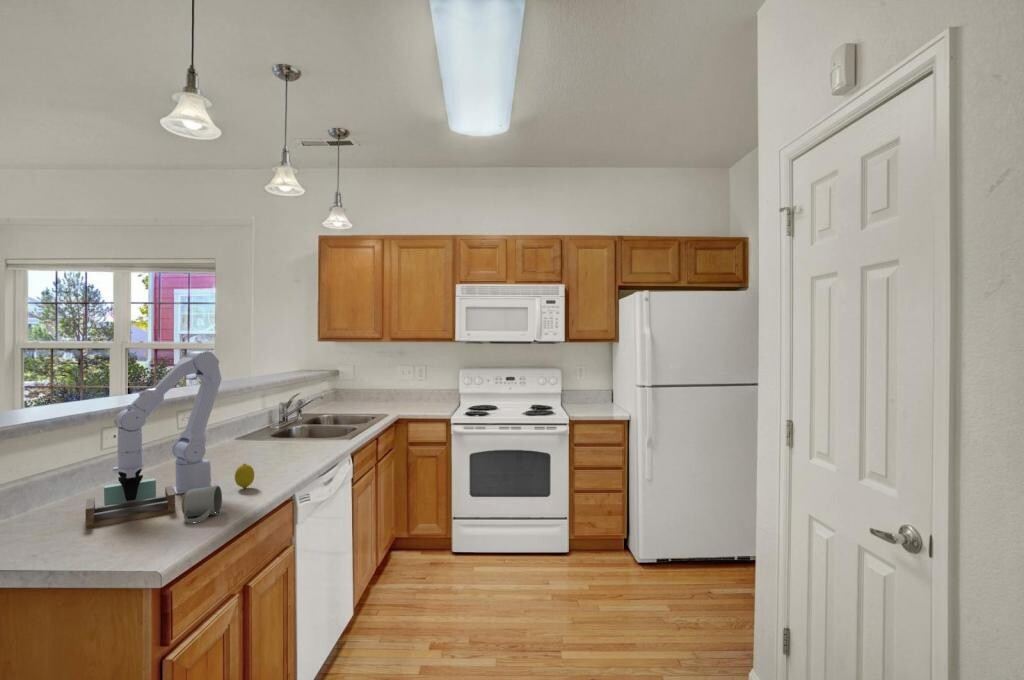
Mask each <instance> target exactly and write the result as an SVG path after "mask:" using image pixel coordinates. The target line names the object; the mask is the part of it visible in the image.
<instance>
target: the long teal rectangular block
mask: <svg viewBox="0 0 1024 680" xmlns="http://www.w3.org/2000/svg"><path fill="white" fill-rule="evenodd" d="M156 484H157V480H156V477H153V478H145V479H141V481H140V483H139V486H138V491H137V496H136V499H135V500H131V501H126V498H125V494H124V490H123V487H122V485H121V483H120V482H119V483H118V482H117V483H111V484H106V485H103V499H104V500H103V503H104V504H103V506H108V505H114V504H120V503H126V502H132V501H138V500H144V499H150V498H156V497H157V485H156Z"/></svg>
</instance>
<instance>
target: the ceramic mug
mask: <svg viewBox="0 0 1024 680" xmlns="http://www.w3.org/2000/svg"><path fill="white" fill-rule="evenodd" d="M222 504H223V493H222V489H221V486H219V485H211V487H204V488H197V489H192V490H188V491H187V492H186V493H183V496H182V499H181V512H182V514H183V519H184V522H185V523H187V522H189V523H193V522H199V521H201V522H203V521H205V520H206V519H207V518H208V517H209V515H210V516H217V515H219V514H218V512H219V513H220V512H221V509H222ZM215 512H216V513H215ZM194 516H196V517H194ZM193 517H194V518H193ZM189 523H188V524H189ZM199 523H200V522H199Z"/></svg>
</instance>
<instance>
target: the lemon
mask: <svg viewBox="0 0 1024 680" xmlns="http://www.w3.org/2000/svg"><path fill="white" fill-rule="evenodd" d="M254 480H255V471H254V468H253V467H252V466H251V465H249V464H247V463H243V464H242V465H240V466H238V467H237V468H236V471H235V474H234V481H235V483H236V485H237V486H238V487H240V488H242V489H244V488H245V489H247V488H248V487H249V486H250V485H252V484H253V482H254Z"/></svg>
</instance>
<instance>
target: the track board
mask: <svg viewBox="0 0 1024 680" xmlns="http://www.w3.org/2000/svg"><path fill="white" fill-rule="evenodd" d="M173 487H174V486H172V485H169V486H165V487H164V488H165V489H164V491H165V493H164V495H163V496H156V498H150V499H144V500H138V501H132V502H126V503H120V504H114V505H108V506H104V505H103V506H96V502H95V501H96V497H95V498H94V497H93V498H88V499H86V504H85V529H86V528H88V529H93V528H98V527H97V526H99V527H103V525H104V526H108V525H109V524H110V525H115V524H120V523H125V522H131V521H136V519H137V520H142V519H147V517H148V518H153V517H157V515H158V516H162V515H161V514H164V515H168V514H167V513H169V514H172V513H171V512H175V513H176V494H175V491H174V489H173ZM152 516H153V517H152ZM92 527H93V528H92Z"/></svg>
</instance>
